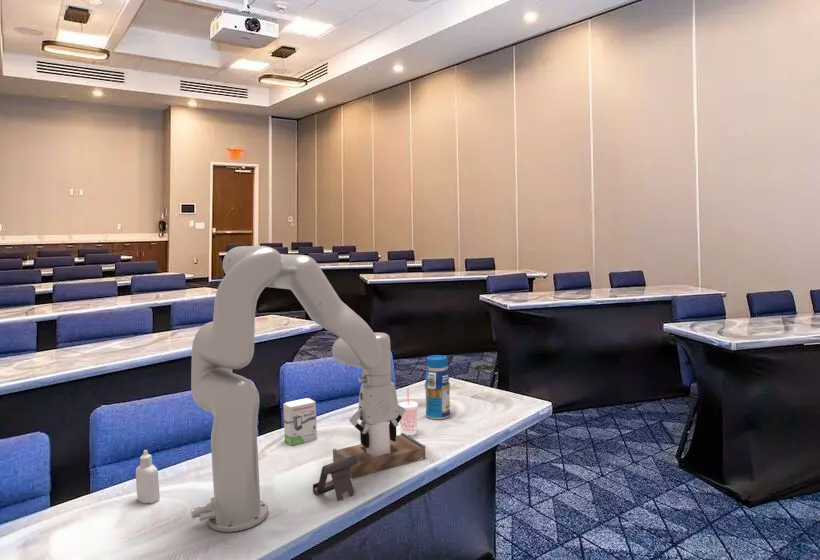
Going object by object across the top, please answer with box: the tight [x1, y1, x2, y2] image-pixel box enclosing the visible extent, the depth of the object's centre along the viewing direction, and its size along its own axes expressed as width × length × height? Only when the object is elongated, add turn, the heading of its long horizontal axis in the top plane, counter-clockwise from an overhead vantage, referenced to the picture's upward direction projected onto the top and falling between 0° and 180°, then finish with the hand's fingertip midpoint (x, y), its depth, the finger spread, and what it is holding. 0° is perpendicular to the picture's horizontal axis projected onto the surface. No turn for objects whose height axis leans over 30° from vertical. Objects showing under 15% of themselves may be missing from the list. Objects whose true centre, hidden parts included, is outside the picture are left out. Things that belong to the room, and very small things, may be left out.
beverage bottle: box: [424, 354, 451, 420], centre depth 183 cm, size 8×8×20 cm
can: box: [366, 421, 391, 457], centre depth 148 cm, size 6×6×12 cm
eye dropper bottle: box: [135, 449, 161, 504], centre depth 128 cm, size 4×6×12 cm
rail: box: [332, 433, 426, 479], centre depth 149 cm, size 22×12×3 cm, turn 120°
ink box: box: [283, 397, 318, 446], centre depth 164 cm, size 9×5×12 cm, turn 127°
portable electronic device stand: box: [312, 455, 358, 502], centre depth 130 cm, size 9×8×8 cm
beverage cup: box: [398, 387, 419, 436], centre depth 168 cm, size 6×6×14 cm
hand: (378, 442), depth 148 cm, fingers open, 7 cm apart
